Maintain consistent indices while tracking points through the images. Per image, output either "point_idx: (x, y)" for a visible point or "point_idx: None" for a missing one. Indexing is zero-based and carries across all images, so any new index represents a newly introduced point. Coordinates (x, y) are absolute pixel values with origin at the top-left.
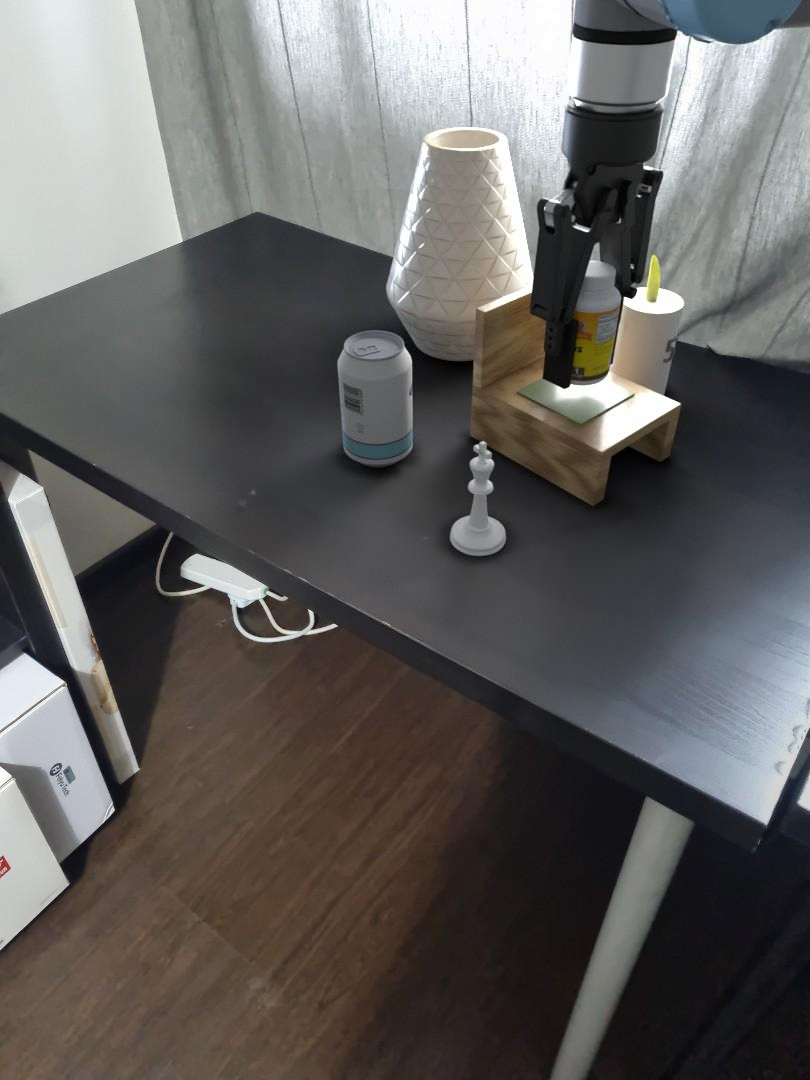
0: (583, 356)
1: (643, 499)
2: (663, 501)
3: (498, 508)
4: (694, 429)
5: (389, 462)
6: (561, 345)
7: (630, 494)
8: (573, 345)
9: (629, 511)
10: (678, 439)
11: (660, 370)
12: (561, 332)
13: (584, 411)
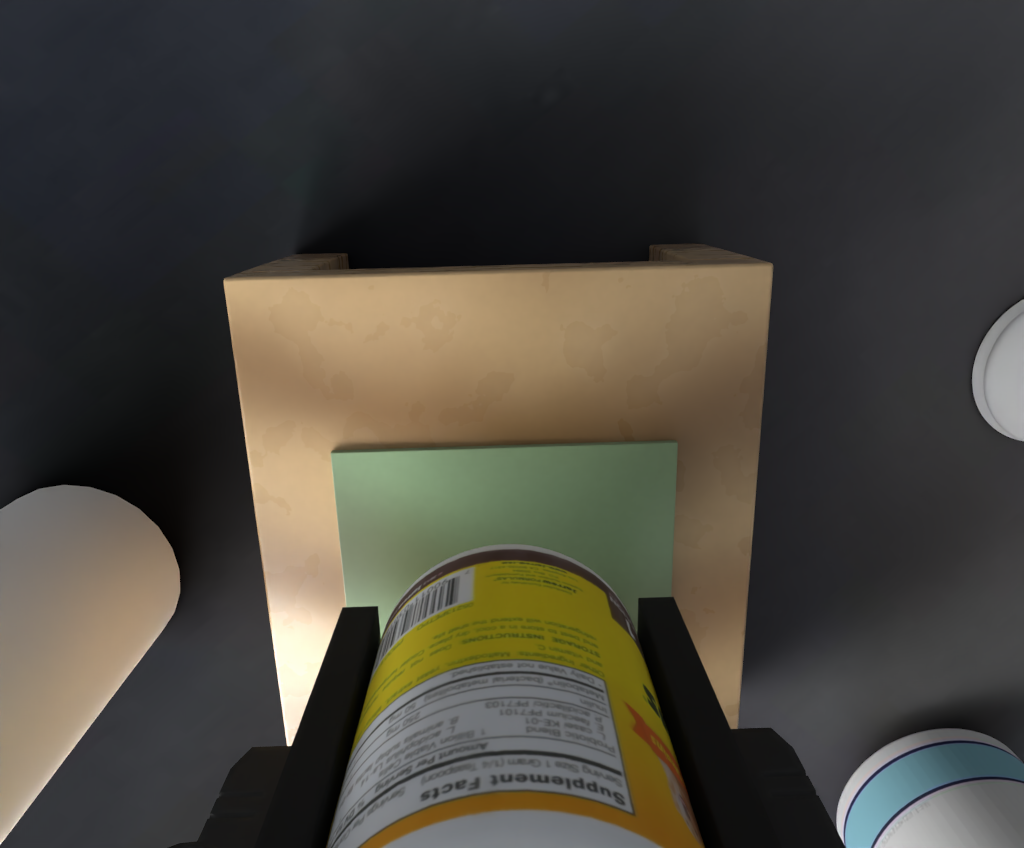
0: (630, 662)
1: (555, 158)
2: (515, 104)
3: (900, 422)
4: (95, 298)
5: (982, 735)
6: (757, 769)
7: (564, 205)
8: (704, 734)
9: (640, 147)
10: (189, 297)
11: (15, 543)
12: (805, 835)
13: (596, 491)
